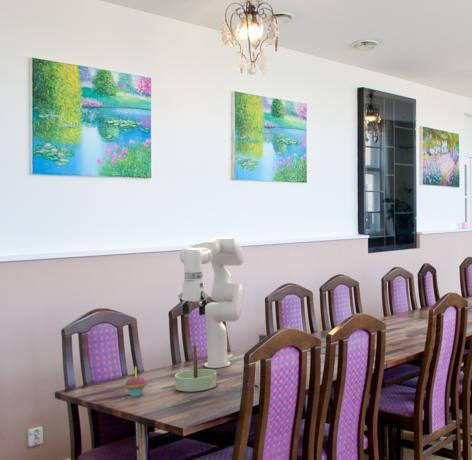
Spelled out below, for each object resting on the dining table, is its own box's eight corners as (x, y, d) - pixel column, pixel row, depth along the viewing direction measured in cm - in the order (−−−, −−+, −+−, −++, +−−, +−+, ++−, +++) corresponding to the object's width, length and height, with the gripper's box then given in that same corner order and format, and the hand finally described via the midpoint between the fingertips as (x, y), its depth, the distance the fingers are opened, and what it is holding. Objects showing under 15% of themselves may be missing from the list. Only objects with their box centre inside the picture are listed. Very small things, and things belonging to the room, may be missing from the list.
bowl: (195, 380, 291) (195, 367, 291) (224, 384, 283) (224, 371, 283) (166, 390, 275) (166, 376, 275) (196, 394, 268) (196, 380, 267)
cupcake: (125, 393, 271) (124, 364, 271) (146, 390, 275) (146, 362, 274) (125, 398, 263) (124, 369, 263) (147, 395, 267) (147, 367, 266)
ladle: (195, 384, 282) (194, 343, 282) (204, 385, 280) (203, 344, 280) (187, 386, 278) (186, 345, 278) (196, 388, 276) (195, 346, 275)
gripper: (213, 276, 288) (214, 314, 289) (184, 275, 296) (185, 312, 297) (201, 277, 282) (202, 316, 282) (172, 276, 289) (173, 314, 290)
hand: (193, 314), depth 289 cm, fingers open, 9 cm apart
